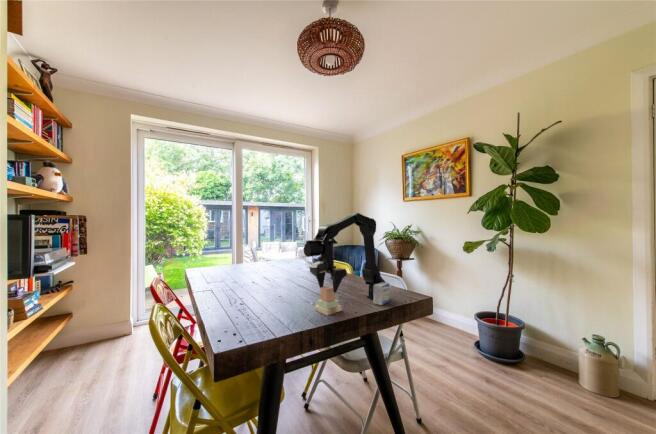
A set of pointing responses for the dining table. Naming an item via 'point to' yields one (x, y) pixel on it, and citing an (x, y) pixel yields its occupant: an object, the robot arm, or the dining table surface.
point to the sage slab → (328, 304)
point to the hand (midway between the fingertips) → (328, 290)
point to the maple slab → (329, 310)
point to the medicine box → (381, 293)
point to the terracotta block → (327, 294)
